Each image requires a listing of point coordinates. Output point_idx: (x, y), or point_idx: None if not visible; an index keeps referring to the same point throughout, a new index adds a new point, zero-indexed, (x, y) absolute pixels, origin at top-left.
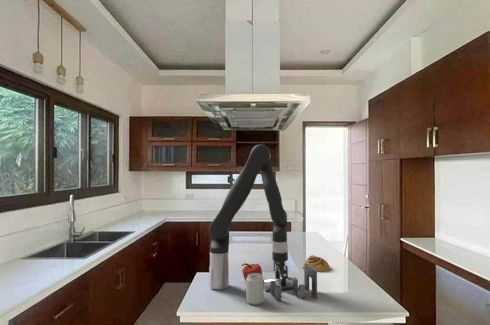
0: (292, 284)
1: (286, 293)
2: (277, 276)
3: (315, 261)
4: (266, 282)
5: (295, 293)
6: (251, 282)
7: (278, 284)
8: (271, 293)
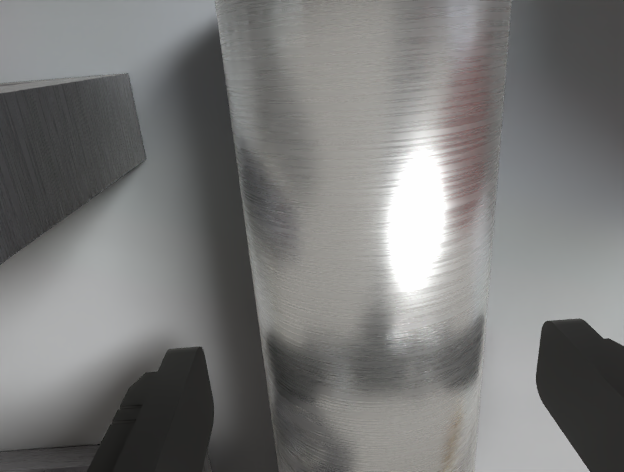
0: None
1: (132, 345)
2: (598, 414)
3: None
4: (256, 10)
5: (82, 455)
6: None
7: (259, 316)
8: (35, 81)
